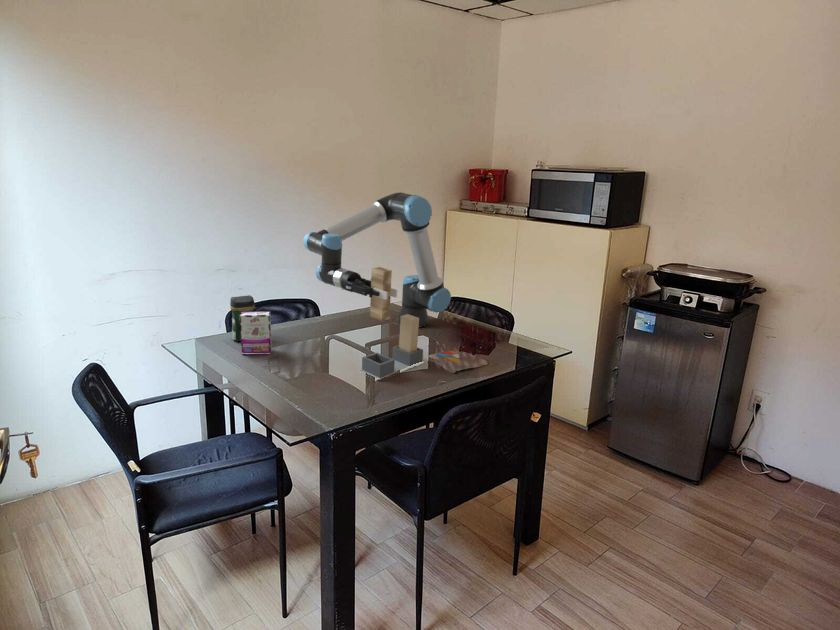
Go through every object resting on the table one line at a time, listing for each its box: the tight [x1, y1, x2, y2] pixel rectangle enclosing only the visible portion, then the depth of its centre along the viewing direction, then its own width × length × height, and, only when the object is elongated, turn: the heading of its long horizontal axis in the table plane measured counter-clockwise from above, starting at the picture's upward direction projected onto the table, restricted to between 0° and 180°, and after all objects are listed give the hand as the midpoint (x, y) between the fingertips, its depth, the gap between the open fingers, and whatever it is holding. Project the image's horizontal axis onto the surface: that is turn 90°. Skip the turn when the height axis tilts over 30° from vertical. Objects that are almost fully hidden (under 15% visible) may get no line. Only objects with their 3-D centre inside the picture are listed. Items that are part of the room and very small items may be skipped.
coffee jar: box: [229, 294, 256, 342], centre depth 229 cm, size 10×8×19 cm
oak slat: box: [369, 266, 393, 322], centre depth 198 cm, size 4×6×18 cm, turn 48°
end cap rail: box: [359, 314, 424, 378], centre depth 210 cm, size 25×10×19 cm, turn 138°
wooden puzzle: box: [427, 350, 460, 363], centre depth 222 cm, size 18×19×4 cm
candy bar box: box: [240, 311, 272, 354], centre depth 216 cm, size 11×5×16 cm, turn 102°
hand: (391, 294), depth 194 cm, fingers closed on oak slat, 4 cm apart
